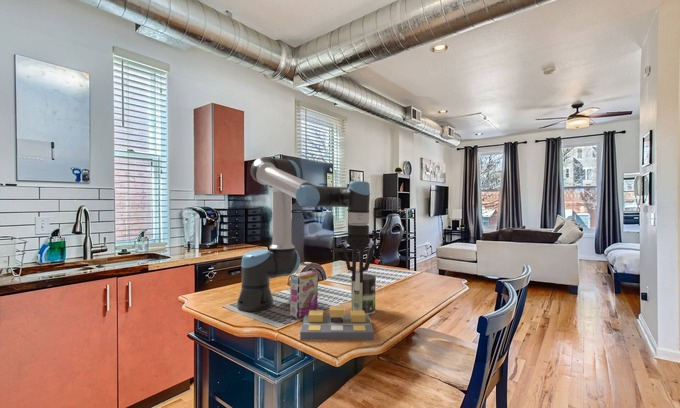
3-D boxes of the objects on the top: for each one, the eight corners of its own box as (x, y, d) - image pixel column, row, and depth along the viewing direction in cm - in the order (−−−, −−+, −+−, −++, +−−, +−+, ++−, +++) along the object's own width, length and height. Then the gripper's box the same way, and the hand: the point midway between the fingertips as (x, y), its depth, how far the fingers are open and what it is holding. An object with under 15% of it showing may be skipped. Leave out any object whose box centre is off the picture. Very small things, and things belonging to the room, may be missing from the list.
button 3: (351, 328, 111) (351, 315, 111) (350, 323, 116) (350, 310, 116) (365, 328, 111) (365, 315, 111) (364, 323, 116) (364, 310, 116)
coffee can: (376, 307, 135) (376, 274, 135) (374, 316, 125) (374, 280, 125) (352, 305, 138) (353, 273, 137) (348, 314, 127) (348, 279, 127)
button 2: (329, 323, 111) (329, 310, 111) (330, 318, 116) (330, 305, 116) (344, 323, 111) (344, 310, 111) (343, 318, 116) (343, 305, 116)
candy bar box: (298, 319, 121) (298, 276, 121) (289, 316, 124) (289, 274, 124) (318, 311, 130) (318, 271, 130) (309, 309, 133) (309, 270, 133)
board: (300, 339, 103) (300, 331, 103) (304, 321, 119) (304, 314, 119) (373, 339, 103) (373, 331, 103) (368, 321, 119) (368, 314, 119)
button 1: (308, 328, 111) (308, 315, 111) (309, 323, 116) (309, 310, 116) (322, 328, 111) (322, 315, 111) (323, 323, 116) (323, 310, 116)
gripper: (340, 224, 110) (339, 292, 110) (378, 225, 110) (376, 293, 110) (340, 223, 117) (338, 286, 118) (375, 223, 118) (373, 287, 118)
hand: (357, 289), depth 114 cm, fingers closed
